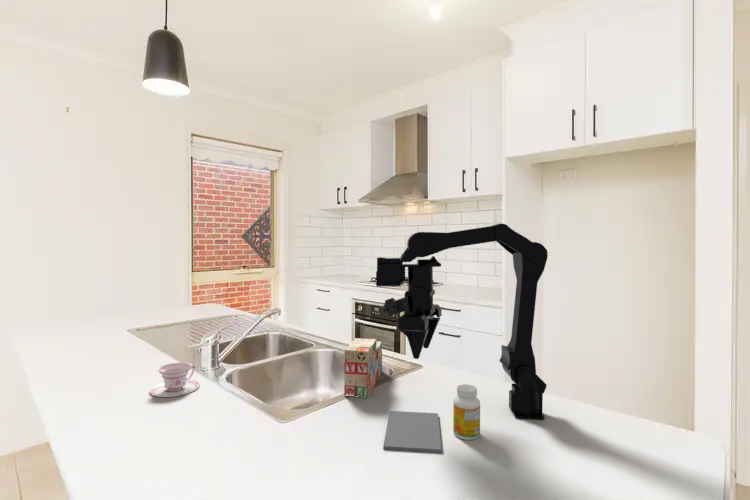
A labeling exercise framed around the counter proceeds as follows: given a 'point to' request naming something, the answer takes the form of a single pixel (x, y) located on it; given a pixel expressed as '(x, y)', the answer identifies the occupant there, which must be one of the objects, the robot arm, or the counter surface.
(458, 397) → the supplement bottle
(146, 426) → the counter surface
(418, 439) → the charcoal mat
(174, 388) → the teacup
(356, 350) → the stack of blocks
